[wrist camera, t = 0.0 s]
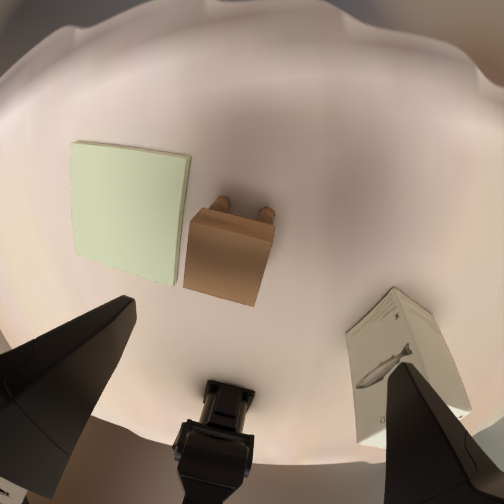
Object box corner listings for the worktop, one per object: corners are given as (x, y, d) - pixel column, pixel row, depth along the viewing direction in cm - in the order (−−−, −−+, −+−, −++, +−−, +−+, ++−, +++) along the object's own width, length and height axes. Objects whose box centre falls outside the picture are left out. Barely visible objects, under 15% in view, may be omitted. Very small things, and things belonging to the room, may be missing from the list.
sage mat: (176, 281, 26) (173, 287, 25) (81, 250, 26) (75, 254, 25) (190, 156, 20) (186, 158, 19) (77, 141, 20) (71, 143, 20)
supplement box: (393, 283, 23) (437, 398, 12) (434, 314, 24) (475, 412, 13) (342, 333, 26) (354, 445, 15) (387, 356, 27) (406, 452, 16)
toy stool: (263, 262, 24) (253, 306, 18) (206, 247, 24) (183, 287, 18) (277, 208, 21) (272, 242, 16) (216, 193, 21) (190, 221, 16)
